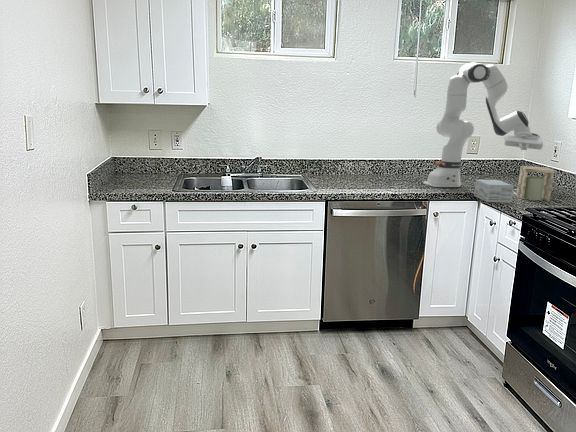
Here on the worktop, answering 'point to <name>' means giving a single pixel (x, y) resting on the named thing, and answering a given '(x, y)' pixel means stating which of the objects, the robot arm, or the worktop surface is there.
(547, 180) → the tunnel
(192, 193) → the worktop surface
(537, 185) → the can
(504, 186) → the supplement box
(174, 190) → the worktop surface
